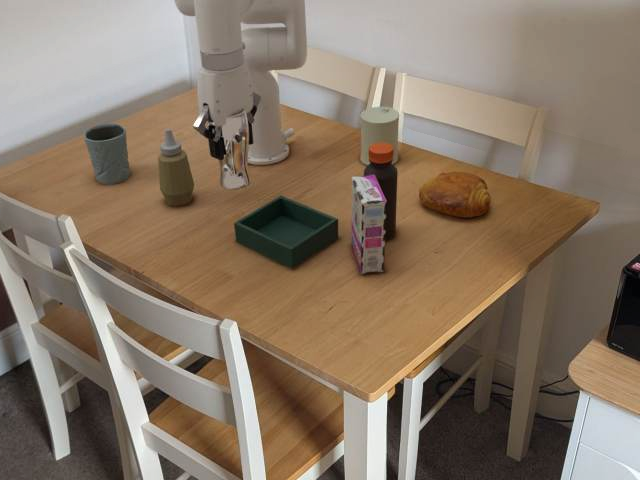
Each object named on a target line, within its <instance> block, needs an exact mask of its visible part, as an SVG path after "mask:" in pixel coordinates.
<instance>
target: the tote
mask: <svg viewBox="0 0 640 480" xmlns="http://www.w3.org/2000/svg"><path fill="white" fill-rule="evenodd" d="M233 227H234V235H235V243H237V244H239V245H241V246H243V247H246V248H248V249H249V250H251V251H254V252H256V253H258V254H261V255H262V256H264V257H266V258H269V259H271V260H273V261H275V262H276V263H279V264H281V265H283V266H284V267H287V268H290V269H291V270H293V269H295V268H296V267H297V266H299V265H301V264H302V263H304V262H305V261H307V260H308V259H310V258H312V257H313V256H314V255H316V254H317V253H319V252H320V251H322V250H323V249H324V248H326V247H328V246H329V245H330V244H332V243H333V242H335V241H336V240H338V239H339V237H340V236H339V218H337V217H334V216H332V215H329V214H327V213H325V212H322V211H320V210H317V209H315V208H312V207H310V206H308V205H305V204H302V203H300V202H298V201H296V200H293V199H291V198H288V197H286V196H283V195H279V196H277V197H275V198H274V199H272V200H270V201H269V202H266V203H265V204H263V205H261V206H260V207H259V208H257V209H255V210H253V211H252V212H250V213H248V214H246V215H245V216H243V217H241V218H240V219H238V220H236V221H235V222H233Z"/></svg>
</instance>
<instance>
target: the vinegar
mask: <svg viewBox="0 0 640 480" xmlns="http://www.w3.org/2000/svg"><path fill="white" fill-rule="evenodd" d="M393 153H394V148H393V146H392V145H391V144H388V143H375V144H372V145H371V146H370V147H369V162H370V164H369V165H366V166H365V168H364V170H363V176H365V175H375V176H376V179H377V181H378V183H379V186H380V188H381V190H382V192H383V194H384V196H385V199H386V201H387V204H386V229H385V241H388V240H391V239H393V238H394V237H395V235H396V231H397V229H396V228H397V199H398V168H397V166H395V165H394V164H392V161H393Z"/></svg>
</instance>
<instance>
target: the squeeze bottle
mask: <svg viewBox="0 0 640 480" xmlns="http://www.w3.org/2000/svg"><path fill="white" fill-rule="evenodd" d="M159 147H160V153H159V154H158V156H157V161H158V163H157V164H158V180H159V181H158V182H159V190H160V192H161V194H162V196H163V198H164V199H165V202H167V205H170V206H173V207H174V206H175V207H181V206H185V205H187V204H188V203H190V202H191V201H192V198H193V193H194V188H195V181H194V178H193V174H192V170H191V166H190V163H189V159H188V154H187V152H186V151H185V150H184V149H182V142H180V141H178V140H176V139H175V136H174V134H173V131H172V129H171V128H165V131H164V142H162V143H161V144H160V146H159Z"/></svg>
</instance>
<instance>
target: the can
mask: <svg viewBox="0 0 640 480" xmlns="http://www.w3.org/2000/svg"><path fill="white" fill-rule="evenodd" d="M399 122H400V112H399V111H398V110H396V109H395V108H392V107H387V106H374V107H370V108H367V109H364V110H363V111H362V112H361V113H360V134H361V135H360V157H359V158H360V162H361V163H362V164H363V165H366V166H368V165H369V164H370V162H369V147H370V146H371V145H372V144H375V143H388V144H391V145H392V146H393V148H394V153H393V161H392V164H393V165H394V164H396V163H397V162H398V161H399V155H398V154H399V153H398V151H399V126H400V125H399V124H400V123H399Z"/></svg>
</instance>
